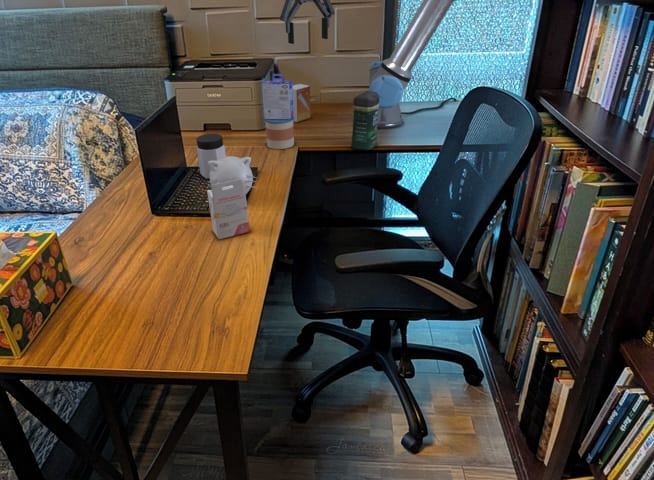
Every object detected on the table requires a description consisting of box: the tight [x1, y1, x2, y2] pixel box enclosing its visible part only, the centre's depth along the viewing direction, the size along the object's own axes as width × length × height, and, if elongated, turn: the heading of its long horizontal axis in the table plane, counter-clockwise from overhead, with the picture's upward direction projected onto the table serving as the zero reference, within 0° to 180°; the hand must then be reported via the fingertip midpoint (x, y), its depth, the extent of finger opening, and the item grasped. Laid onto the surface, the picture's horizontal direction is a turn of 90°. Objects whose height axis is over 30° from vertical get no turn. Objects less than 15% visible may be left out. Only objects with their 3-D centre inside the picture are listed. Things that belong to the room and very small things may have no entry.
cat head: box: [207, 155, 260, 195], centre depth 143 cm, size 15×13×12 cm
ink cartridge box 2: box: [261, 73, 294, 120], centre depth 173 cm, size 10×6×14 cm, turn 79°
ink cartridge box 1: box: [206, 179, 250, 240], centre depth 124 cm, size 9×5×15 cm, turn 114°
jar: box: [195, 133, 227, 180], centre depth 158 cm, size 9×8×12 cm
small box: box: [292, 83, 311, 123], centre depth 204 cm, size 8×6×13 cm
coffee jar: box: [351, 90, 380, 151], centre depth 171 cm, size 10×8×19 cm
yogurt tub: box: [264, 116, 295, 150], centre depth 180 cm, size 10×10×10 cm
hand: (308, 41), depth 173 cm, fingers open, 13 cm apart
